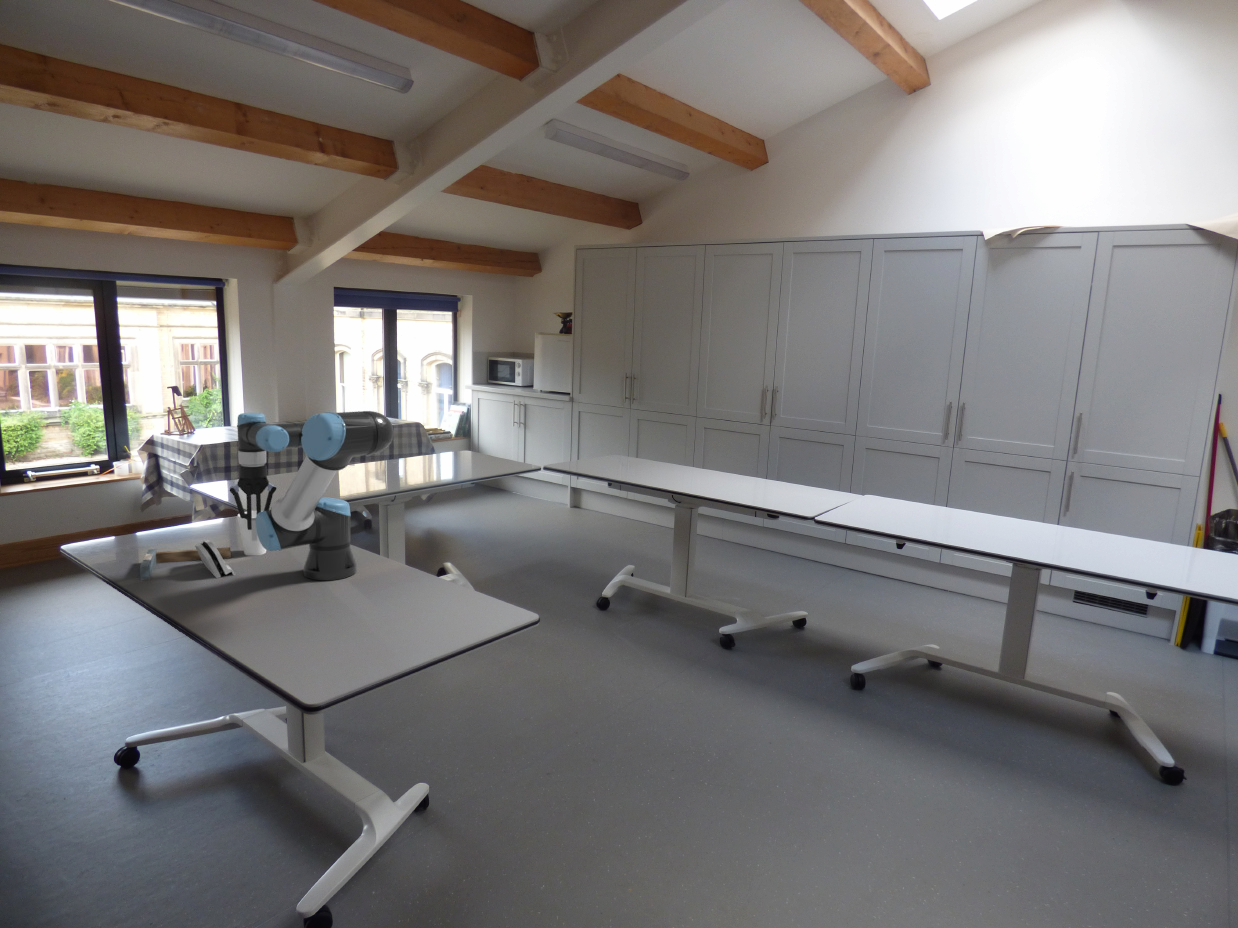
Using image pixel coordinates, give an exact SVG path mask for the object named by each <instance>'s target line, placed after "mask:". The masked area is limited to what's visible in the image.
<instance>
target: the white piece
mask: <svg viewBox="0 0 1238 928" xmlns="http://www.w3.org/2000/svg"><path fill="white" fill-rule="evenodd" d="M194 546H195V550H197V551H198V553H199V555H200V557H201V560H200V561H201V562H202V564H204V566H205V568H207V570H209V571H210V572H211V574H213V576H214V577H215V578H216V579H220V578H221V577H222V576H223V575H228V574H230V573H231V574H232V576H236V573H235V572H234V570H233V569H232V567H230V565H228V564H227V562H225V560H224V558H222V557H221V555H220V553H219V551H218V550H217V548H218V547H217V546H215V545H214V543H213V542H212V541H210V540H209V539H206V540H203V541H202V542H201V543H198V544H195V545H194Z"/></svg>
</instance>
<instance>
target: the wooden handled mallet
mask: <svg viewBox="0 0 1238 928" xmlns="http://www.w3.org/2000/svg"><path fill="white" fill-rule="evenodd" d="M216 548H217V550H218V551H219V553H220V555H221V557H222V559H227V558H229V559H230V558H231V555H232V554H231V553H232V552H231V547H216ZM187 561H188V562H189V561H190V562H191V561H202V560H201V557H200V555H199V553H198V551H197V549H185V550H171V551H169V550H168V551H157V548H155V549H154V548H151V549H148V550H147V551H146V554H145V556H144V558H143V560H142V562H141V564H140V566H139V570H140V571H139V572H140V573H139V574H140V575H139V576H140V581H143V580H144V581H145V580H150V578H151V576H152V574H153V572H154V570H155V567H156V565H157V564H163V563H174V562H176V563H177V562H187Z"/></svg>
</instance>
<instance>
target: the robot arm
mask: <svg viewBox="0 0 1238 928" xmlns="http://www.w3.org/2000/svg"><path fill="white" fill-rule="evenodd" d="M236 429H237V450H238V453H237V455H238V457H237V458H238V459H237V460H238V464H240V465H239V466H238V480H237V484H235V485H233V486H230V488H229V492H230V493H231V494H232V495H233V498H234V501H235V503H236V504H235V505H236V507H237V509H238V514H240V517H241V518H245V519H247V528H248V530H252V541H257V540H258V538H259V541H260V543H261V544H262V546H263V547H264V548H265V549H266V551H268V552H276V551H282V550H288V549H293V548H298V547H302V546H306V545H308V546H309V548H308V549H309V550H308V553H307V555H306V559H305V561H304V564H303V576H304V577H305V578H308V579H310V580H313V581H314V580H315V581H334V580H342V579H345V578H349V577H351V576H354V575H355V574H356V573H357V570H358V569H357V568H358V567H357V561H356V558H355V556H354V553H353V551H352V548H351V516H352V515H351V508H350V504H349V502H348V501H346V500H344V499H341V498H335V497H327V496H326V497H325V496H323V495H324V494H325V492H326V491H327V489H328V487H329V485H330V484H331V482H332V481H333V479H334V477H335V475H336V474H337V472H339V471H341V470H344V469H346V468H347V467H348V465H349V464H350V462H351V460H352V458H354V457H360V456H370V455H376V454H378V453H381V452H383V451H385V450H386V449H387V448H389V446H390V445H391V444H392V442H393V439H394V434H395V432H394V426H393V424H392V422H391V420H390V419H389V418H388V417H387V416H386V415H384V414H383V413H380V412H377V411H373V410H372V411H371V410H363V411H359V410H358V411H343V412H333V411H332V412H331V411H327V412H323V413H316V414H313V415H311V416H310V417H308V419H306V421H304V422H301V421H300V422H289V423H288V422H287V423H286V422H284V423H283V422H282V423H267V421H266V415H265V414H264V413H261V412H243V413H242V412H241V413H240V414H238V416H237V424H236ZM296 448H302V450H303V452H304V454H305V458H304V460H303V461H302V463H301V465H300V467H299V469H298V471H297V472H296V474H295V476H294V478H293V480H292V482H291V483H290V485H289V487H288V489H287V491H286V493H285V495H284V496H283V497H281V498H279V499H277V500H276V501H275V502H274V503H273V505H272V506H271V503H272V499H273V495H274V493H275V492H276V491H277V485H275V484H272V483H270V481H269V479H268V467H267V465H266V463H267V452H268V453H269V452H270V453H271V452H272V453H279V452H281V451H283V450H285V449H296ZM266 489H267V496H266V501H265V504H264V509H263V510H262V500H261V498H262V497H261V494H262V493H263V492H264V491H265V490H266ZM240 490H241V491H242V492H243V493H244V494H245V496H246V511H245V510H244V506H243V503H242V501H241V500H242V499H241V496H240V494H239V492H240ZM252 495H255V505H256V510H255V511H257V516H256V518H252V511H253V509H252ZM270 506H271V508H270ZM261 511H263V512H261ZM245 512H247V514H246V513H245ZM257 535H258V536H257Z"/></svg>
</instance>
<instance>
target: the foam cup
mask: <svg viewBox="0 0 1238 928" xmlns="http://www.w3.org/2000/svg"><path fill="white" fill-rule="evenodd" d="M263 511H264V510H261V512H263ZM244 512H245V513H246V514H247V511H244ZM256 516H257V511H256V510H252V518H256ZM237 523H238V525H239V526H238V527H239V533H240V537H241V542H242V549H243V553H244V555H245V556H254V557H255V556H261V555H264V554H266V553H267V550H266V549H265V548H264V547H263V546H262V544H261V543H260V541H259V538H258V540H257V541H252V530H248V528H247V519H245V518H241V517H240V514H239V513H238V514H237ZM257 536H258V535H257Z"/></svg>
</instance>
